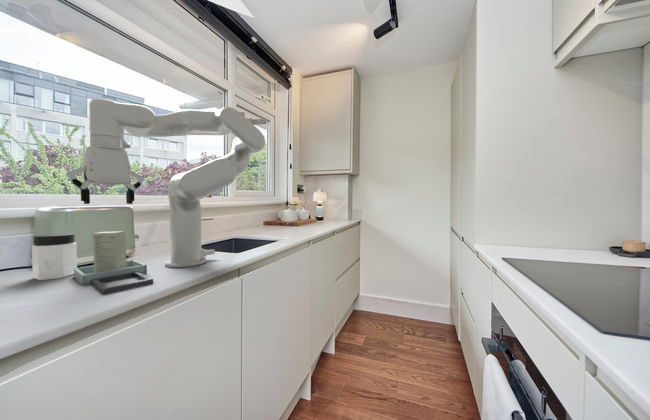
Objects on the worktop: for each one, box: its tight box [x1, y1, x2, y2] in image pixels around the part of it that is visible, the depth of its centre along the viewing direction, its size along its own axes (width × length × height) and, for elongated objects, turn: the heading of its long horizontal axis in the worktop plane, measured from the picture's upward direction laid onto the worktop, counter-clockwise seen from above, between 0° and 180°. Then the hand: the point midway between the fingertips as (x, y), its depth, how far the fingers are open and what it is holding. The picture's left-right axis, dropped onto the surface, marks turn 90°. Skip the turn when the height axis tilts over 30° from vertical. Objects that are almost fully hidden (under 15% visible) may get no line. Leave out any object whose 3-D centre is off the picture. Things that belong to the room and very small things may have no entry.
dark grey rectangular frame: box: [90, 271, 154, 295], centre depth 65 cm, size 10×12×1 cm
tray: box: [73, 259, 148, 286], centre depth 73 cm, size 14×12×2 cm
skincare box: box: [92, 230, 127, 273], centre depth 73 cm, size 6×4×12 cm
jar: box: [31, 232, 78, 281], centre depth 72 cm, size 9×8×12 cm
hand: (109, 203), depth 73 cm, fingers open, 9 cm apart
